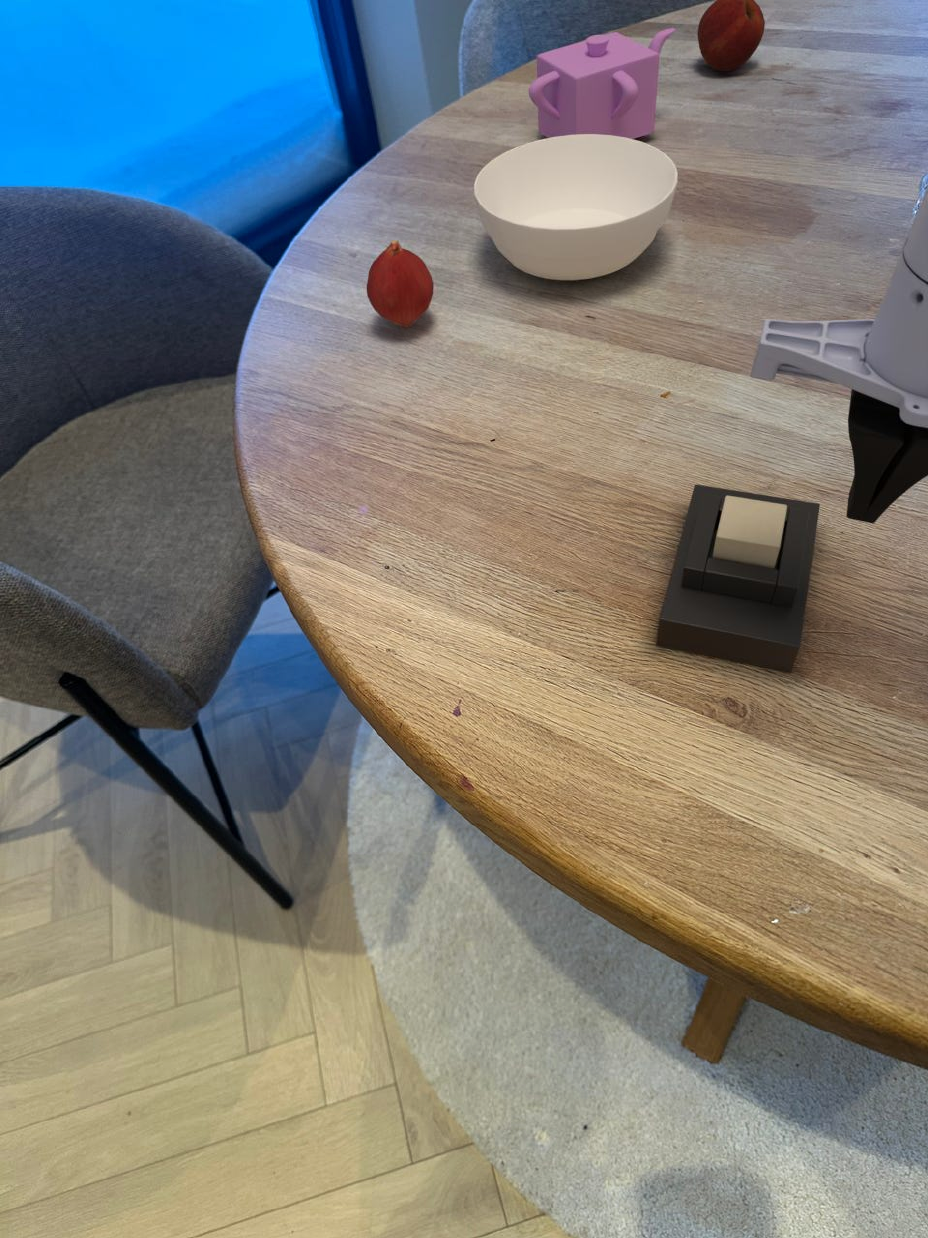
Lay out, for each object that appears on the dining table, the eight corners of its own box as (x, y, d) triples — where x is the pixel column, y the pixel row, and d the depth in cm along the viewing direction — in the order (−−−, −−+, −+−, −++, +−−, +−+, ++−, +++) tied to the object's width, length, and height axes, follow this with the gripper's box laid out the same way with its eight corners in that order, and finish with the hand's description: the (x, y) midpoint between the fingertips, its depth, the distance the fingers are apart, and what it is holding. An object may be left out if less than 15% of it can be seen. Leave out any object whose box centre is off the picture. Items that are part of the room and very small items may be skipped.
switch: (721, 517, 53) (725, 494, 52) (781, 527, 52) (787, 504, 51) (712, 558, 51) (716, 536, 50) (774, 569, 50) (780, 547, 49)
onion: (363, 336, 77) (344, 251, 71) (395, 302, 80) (380, 218, 74) (418, 349, 75) (404, 263, 69) (449, 314, 78) (438, 228, 72)
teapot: (637, 98, 103) (643, -1, 95) (705, 138, 95) (718, 33, 87) (505, 140, 99) (500, 40, 91) (564, 184, 91) (564, 79, 83)
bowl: (711, 246, 80) (721, 167, 75) (575, 331, 74) (576, 252, 68) (572, 191, 90) (572, 117, 84) (441, 262, 84) (432, 187, 78)
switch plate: (690, 512, 59) (698, 463, 56) (810, 532, 57) (826, 482, 54) (655, 645, 53) (662, 599, 49) (790, 674, 50) (807, 627, 47)
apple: (730, 85, 103) (741, 7, 96) (679, 72, 107) (686, -4, 100) (768, 65, 105) (780, -13, 99) (717, 52, 109) (726, -23, 103)
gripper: (776, 288, 33) (707, 530, 43) (1207, 354, 29) (1016, 598, 40) (797, 199, 37) (729, 442, 47) (1178, 249, 33) (1011, 497, 44)
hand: (861, 507), depth 44 cm, fingers closed
